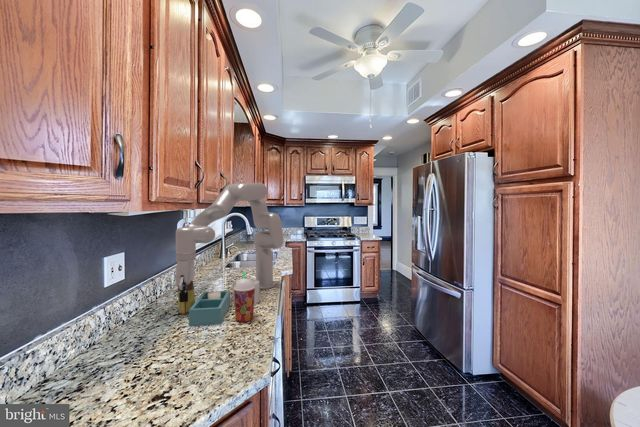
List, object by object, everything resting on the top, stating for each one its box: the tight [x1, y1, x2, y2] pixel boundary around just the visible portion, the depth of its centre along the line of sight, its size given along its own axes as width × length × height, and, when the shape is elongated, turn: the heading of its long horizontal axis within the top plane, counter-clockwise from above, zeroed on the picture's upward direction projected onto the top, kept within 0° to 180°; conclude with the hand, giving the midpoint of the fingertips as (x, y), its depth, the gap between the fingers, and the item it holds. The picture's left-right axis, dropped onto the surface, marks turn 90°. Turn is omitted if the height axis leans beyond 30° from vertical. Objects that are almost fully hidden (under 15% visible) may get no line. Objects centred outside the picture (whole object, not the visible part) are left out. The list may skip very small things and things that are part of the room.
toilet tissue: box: [232, 278, 261, 305], centre depth 128 cm, size 11×12×10 cm
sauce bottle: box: [177, 280, 196, 315], centre depth 115 cm, size 6×6×20 cm
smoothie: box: [232, 270, 255, 323], centre depth 108 cm, size 8×8×20 cm
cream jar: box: [208, 290, 221, 299], centre depth 118 cm, size 5×5×7 cm
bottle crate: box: [188, 290, 231, 327], centre depth 113 cm, size 22×11×7 cm, turn 9°
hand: (186, 298), depth 116 cm, fingers closed on sauce bottle, 6 cm apart
